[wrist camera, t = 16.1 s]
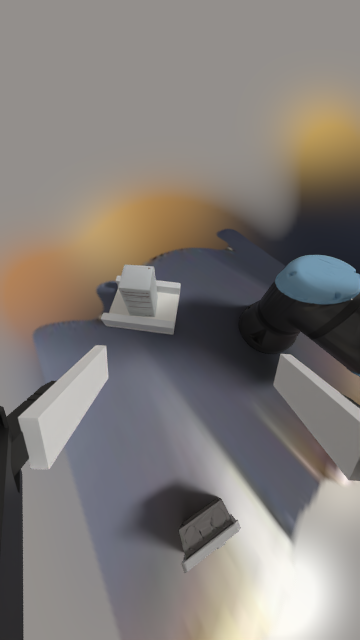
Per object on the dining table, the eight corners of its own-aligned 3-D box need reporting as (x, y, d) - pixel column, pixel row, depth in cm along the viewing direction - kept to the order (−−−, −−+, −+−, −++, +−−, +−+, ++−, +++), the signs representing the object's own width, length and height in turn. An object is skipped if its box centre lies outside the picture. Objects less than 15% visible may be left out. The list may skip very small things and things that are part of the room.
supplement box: (134, 294, 54) (124, 263, 43) (158, 296, 54) (154, 265, 43) (129, 316, 50) (116, 287, 39) (155, 318, 50) (150, 290, 39)
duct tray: (180, 291, 56) (180, 283, 53) (173, 334, 49) (173, 328, 46) (121, 284, 57) (117, 275, 53) (105, 326, 50) (100, 319, 46)
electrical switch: (187, 554, 30) (189, 595, 22) (174, 514, 33) (172, 538, 25) (233, 519, 32) (249, 544, 25) (217, 484, 35) (228, 498, 27)
